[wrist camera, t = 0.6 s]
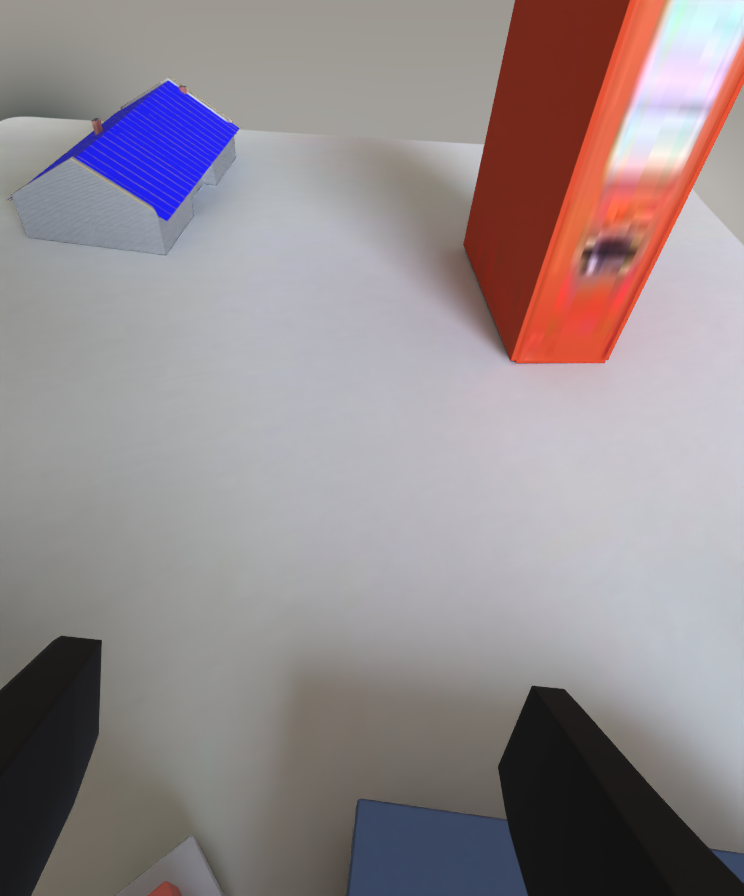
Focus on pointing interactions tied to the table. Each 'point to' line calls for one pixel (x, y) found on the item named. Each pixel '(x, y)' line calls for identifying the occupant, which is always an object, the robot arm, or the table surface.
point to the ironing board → (441, 853)
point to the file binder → (594, 161)
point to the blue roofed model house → (132, 174)
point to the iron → (177, 875)
